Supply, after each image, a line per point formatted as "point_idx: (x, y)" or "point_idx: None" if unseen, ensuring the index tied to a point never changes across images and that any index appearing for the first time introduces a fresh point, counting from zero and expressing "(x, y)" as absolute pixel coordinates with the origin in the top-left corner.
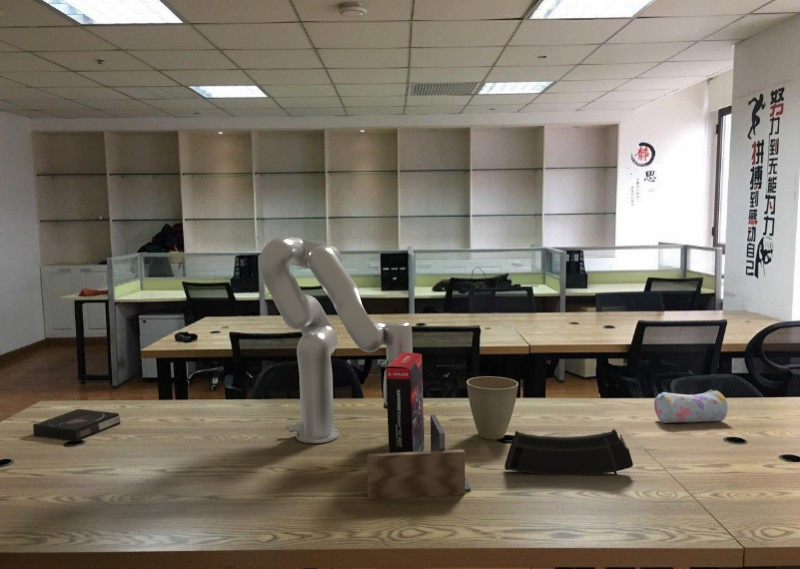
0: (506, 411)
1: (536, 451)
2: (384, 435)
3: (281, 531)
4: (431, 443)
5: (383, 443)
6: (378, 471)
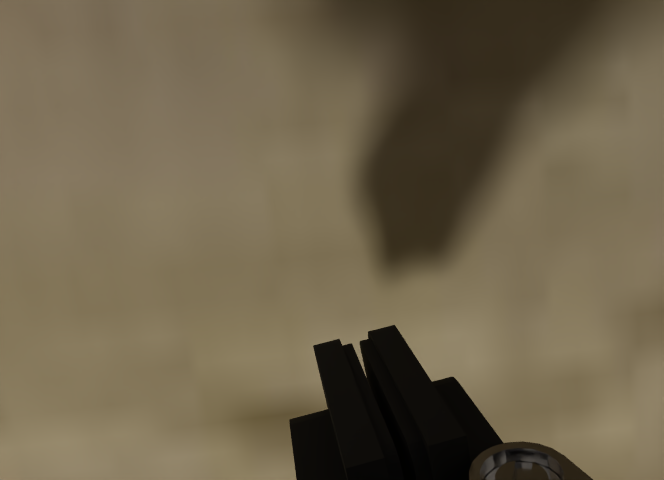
0: None
1: None
2: (547, 403)
3: None
4: None
5: (548, 160)
6: None
